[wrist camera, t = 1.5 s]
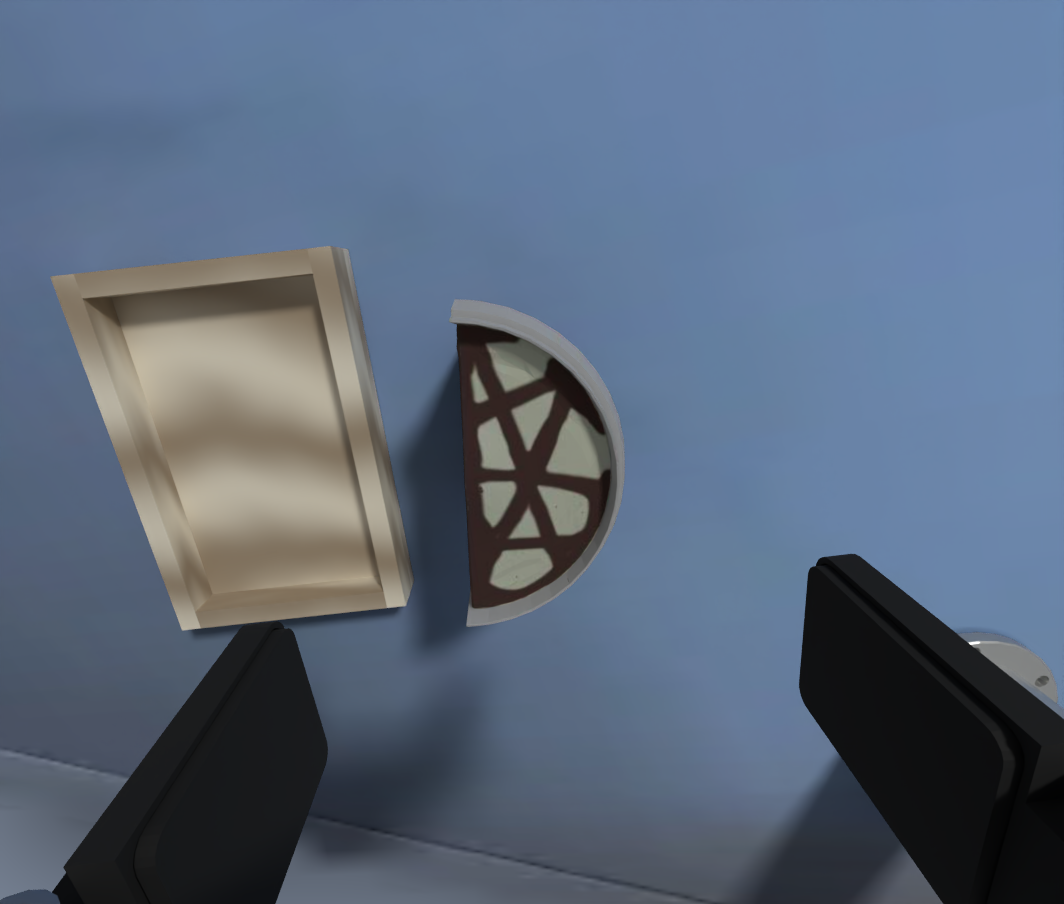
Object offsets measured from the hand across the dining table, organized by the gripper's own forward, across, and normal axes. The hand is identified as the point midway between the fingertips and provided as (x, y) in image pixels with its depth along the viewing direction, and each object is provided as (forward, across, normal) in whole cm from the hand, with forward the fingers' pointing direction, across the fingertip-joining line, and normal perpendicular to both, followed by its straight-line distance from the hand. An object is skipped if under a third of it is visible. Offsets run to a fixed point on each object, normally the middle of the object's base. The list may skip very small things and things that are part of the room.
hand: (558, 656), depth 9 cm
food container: (+19, -1, +1) cm, 19 cm away
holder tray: (+19, +13, +1) cm, 23 cm away
